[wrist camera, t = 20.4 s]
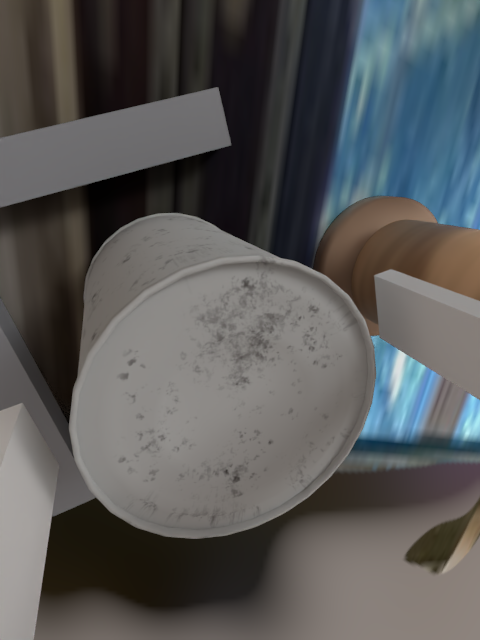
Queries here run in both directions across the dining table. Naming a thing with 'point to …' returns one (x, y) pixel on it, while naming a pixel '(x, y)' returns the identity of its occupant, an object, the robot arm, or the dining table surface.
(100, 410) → the white scuffed cylinder
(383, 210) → the bobbin
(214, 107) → the c-shaped bracket
